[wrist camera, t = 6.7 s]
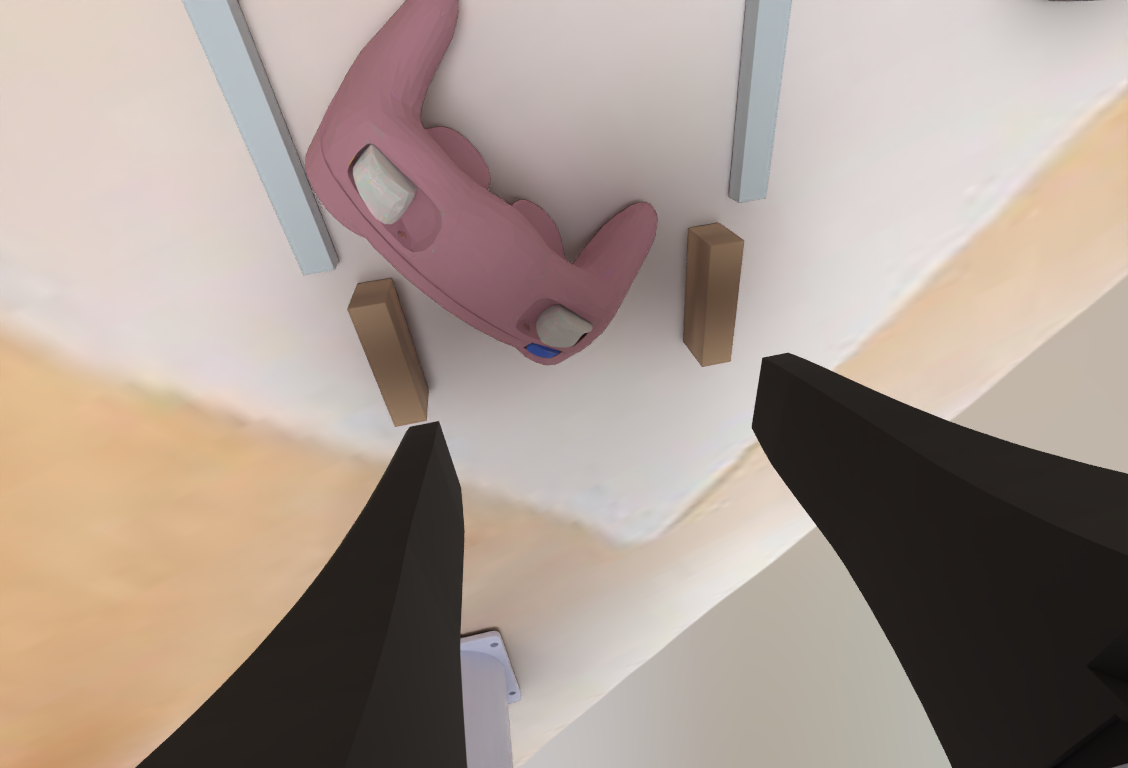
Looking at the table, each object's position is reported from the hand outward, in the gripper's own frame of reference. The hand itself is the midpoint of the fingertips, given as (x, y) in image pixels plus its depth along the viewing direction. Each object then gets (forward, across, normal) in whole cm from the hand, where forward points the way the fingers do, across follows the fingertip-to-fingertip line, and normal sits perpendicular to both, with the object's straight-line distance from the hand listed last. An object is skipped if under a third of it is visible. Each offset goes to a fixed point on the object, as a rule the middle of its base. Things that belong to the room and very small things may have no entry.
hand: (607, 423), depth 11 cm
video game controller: (+10, +1, -3) cm, 10 cm away
